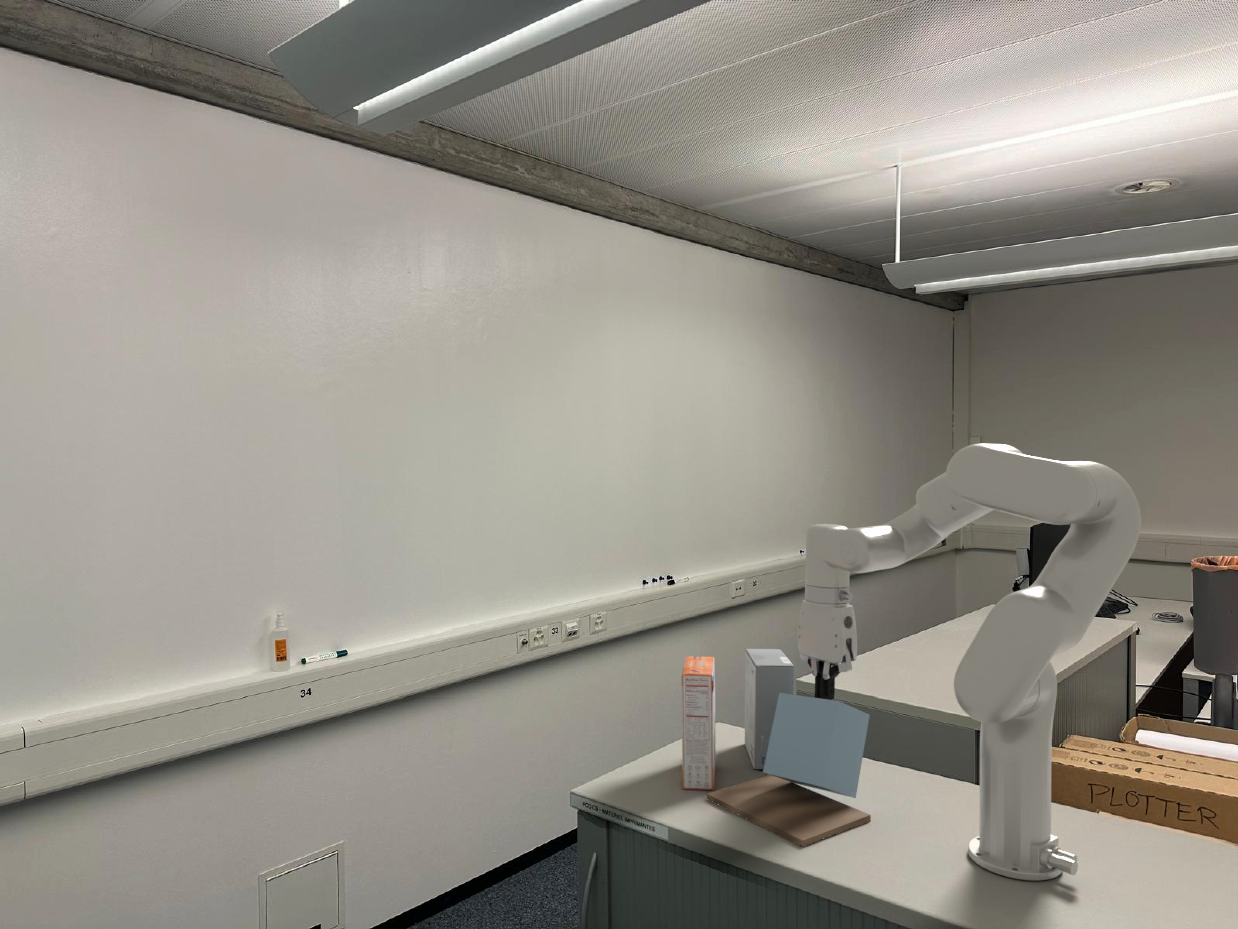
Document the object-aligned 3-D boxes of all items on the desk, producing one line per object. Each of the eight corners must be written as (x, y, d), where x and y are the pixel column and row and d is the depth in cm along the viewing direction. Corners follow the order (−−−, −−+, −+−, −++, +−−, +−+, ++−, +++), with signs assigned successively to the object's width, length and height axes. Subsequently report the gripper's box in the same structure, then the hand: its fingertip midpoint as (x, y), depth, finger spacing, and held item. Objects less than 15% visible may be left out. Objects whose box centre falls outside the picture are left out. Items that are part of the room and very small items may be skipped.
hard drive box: (794, 771, 160) (794, 666, 160) (753, 771, 160) (754, 665, 160) (780, 743, 175) (780, 647, 175) (743, 743, 176) (743, 647, 176)
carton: (869, 714, 147) (838, 701, 142) (855, 798, 142) (822, 787, 138) (810, 705, 157) (779, 692, 152) (795, 783, 152) (762, 772, 148)
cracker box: (684, 762, 165) (685, 654, 165) (716, 763, 164) (716, 655, 164) (680, 790, 151) (680, 672, 151) (714, 792, 150) (714, 674, 150)
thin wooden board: (870, 821, 138) (870, 815, 138) (803, 847, 129) (803, 840, 129) (772, 779, 156) (772, 774, 156) (706, 799, 147) (706, 793, 146)
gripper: (876, 600, 144) (873, 707, 145) (808, 587, 156) (806, 685, 157) (847, 604, 140) (844, 714, 140) (780, 590, 152) (777, 692, 152)
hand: (824, 699), depth 149 cm, fingers closed
